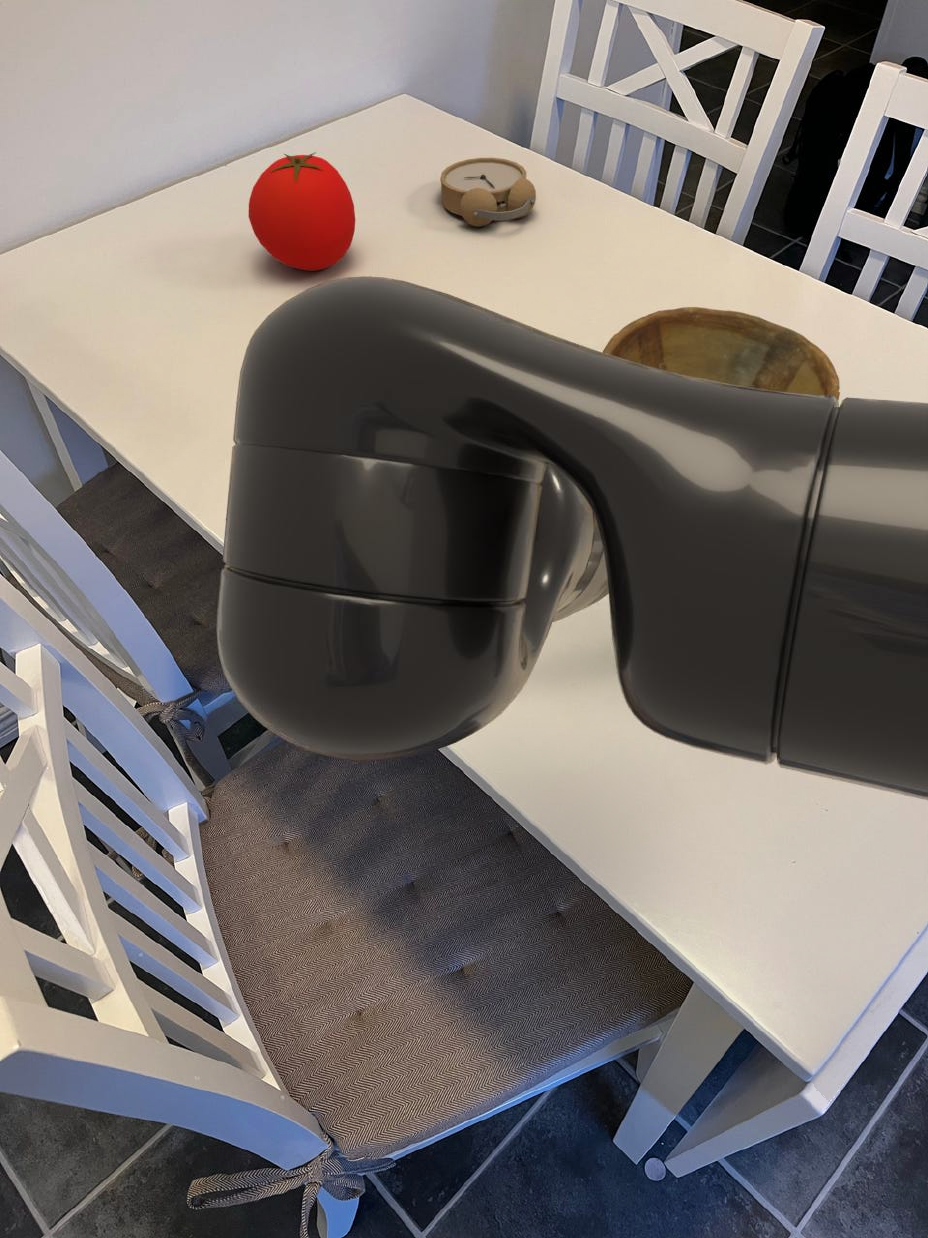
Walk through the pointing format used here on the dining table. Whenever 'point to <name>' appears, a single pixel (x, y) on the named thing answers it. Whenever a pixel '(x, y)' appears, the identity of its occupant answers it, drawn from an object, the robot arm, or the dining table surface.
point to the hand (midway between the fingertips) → (596, 531)
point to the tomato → (303, 212)
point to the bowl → (727, 350)
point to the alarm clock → (487, 190)
